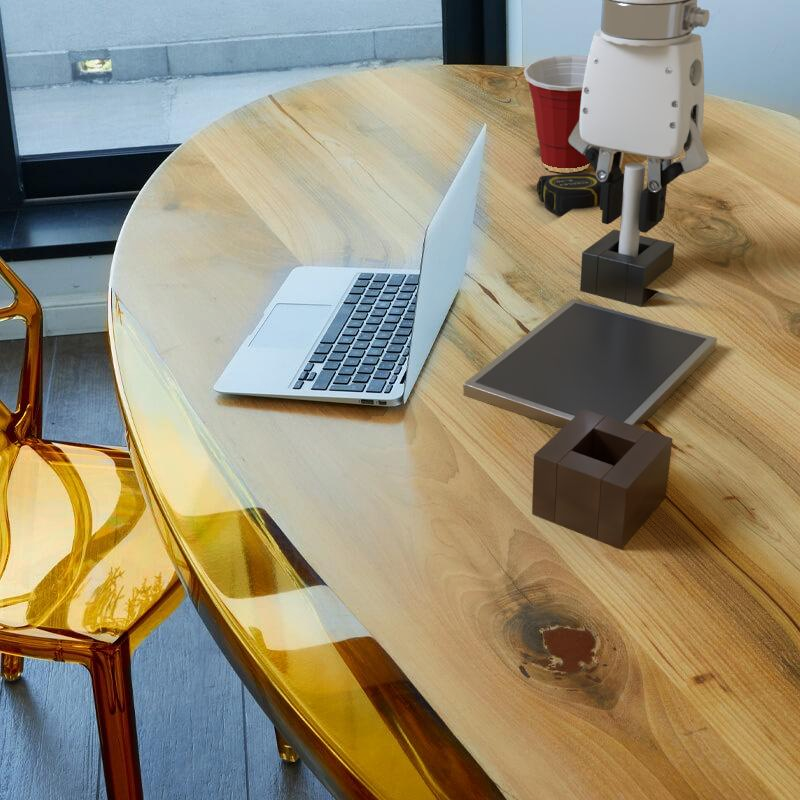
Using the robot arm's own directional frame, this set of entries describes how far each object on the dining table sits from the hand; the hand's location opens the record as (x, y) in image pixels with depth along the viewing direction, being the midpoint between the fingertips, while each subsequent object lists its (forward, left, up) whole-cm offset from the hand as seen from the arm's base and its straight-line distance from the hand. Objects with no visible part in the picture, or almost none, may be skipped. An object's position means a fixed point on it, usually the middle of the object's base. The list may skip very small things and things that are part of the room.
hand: (630, 221), depth 100 cm
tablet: (-5, +16, -7) cm, 18 cm away
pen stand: (-14, +32, -7) cm, 36 cm away
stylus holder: (0, 0, -7) cm, 7 cm away
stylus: (0, 0, -7) cm, 7 cm away
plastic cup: (+21, -26, -7) cm, 34 cm away
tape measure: (+14, -14, -7) cm, 21 cm away
